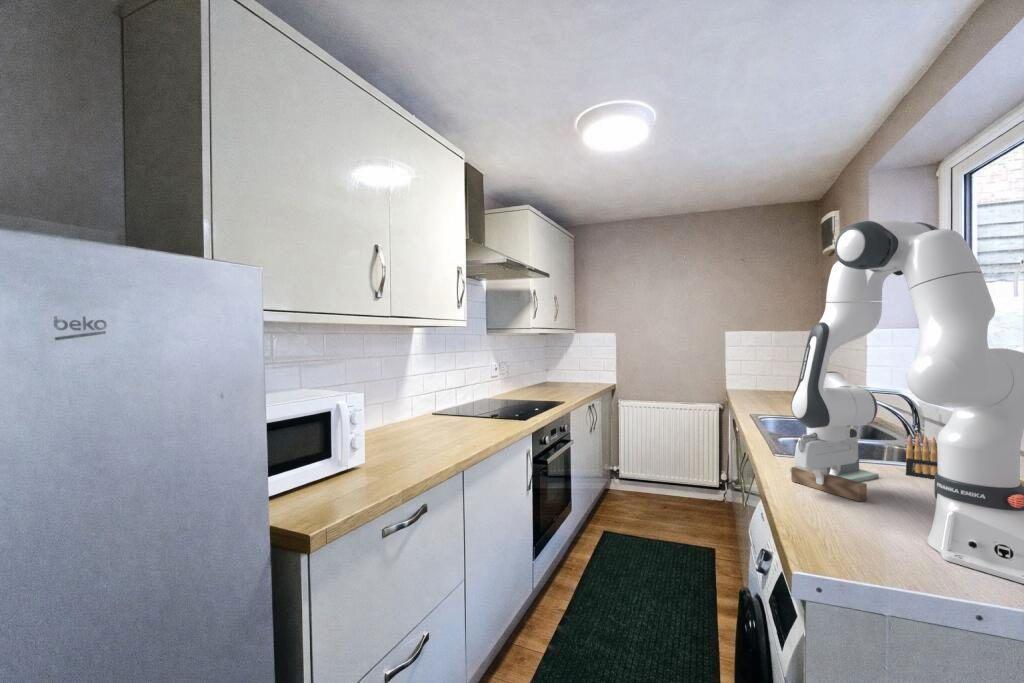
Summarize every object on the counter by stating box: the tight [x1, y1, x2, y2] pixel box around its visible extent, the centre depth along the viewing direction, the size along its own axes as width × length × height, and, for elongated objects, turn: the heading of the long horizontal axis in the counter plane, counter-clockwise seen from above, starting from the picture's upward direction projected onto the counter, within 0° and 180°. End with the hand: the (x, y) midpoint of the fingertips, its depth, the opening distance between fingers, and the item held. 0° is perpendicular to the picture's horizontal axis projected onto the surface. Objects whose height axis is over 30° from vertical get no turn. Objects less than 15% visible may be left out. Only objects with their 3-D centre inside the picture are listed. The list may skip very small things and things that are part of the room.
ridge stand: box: [789, 457, 879, 482], centre depth 136 cm, size 14×18×8 cm
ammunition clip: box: [905, 434, 938, 480], centre depth 132 cm, size 11×2×12 cm, turn 45°
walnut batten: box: [790, 466, 868, 502], centre depth 123 cm, size 18×3×4 cm, turn 22°
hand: (826, 482), depth 123 cm, fingers closed on walnut batten, 3 cm apart
